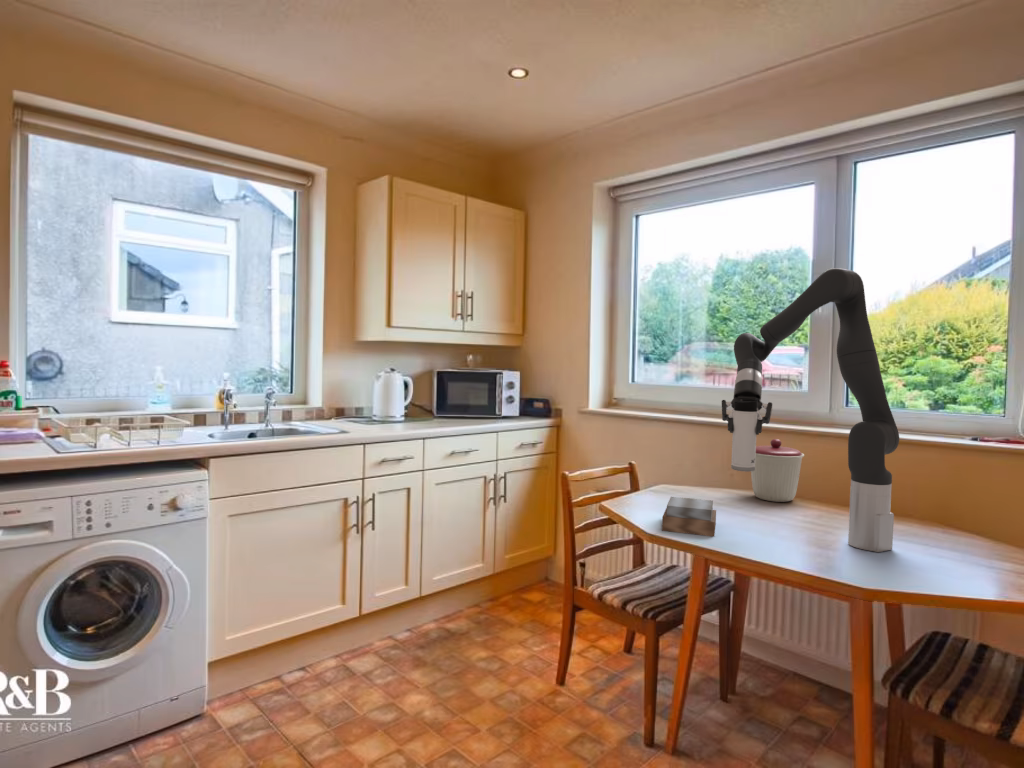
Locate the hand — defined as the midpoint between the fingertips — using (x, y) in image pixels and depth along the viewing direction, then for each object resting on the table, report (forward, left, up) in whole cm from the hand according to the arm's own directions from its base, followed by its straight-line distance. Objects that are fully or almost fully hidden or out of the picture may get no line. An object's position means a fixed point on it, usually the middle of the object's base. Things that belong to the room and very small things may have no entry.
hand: (744, 431), depth 169 cm
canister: (+25, -44, -29) cm, 58 cm away
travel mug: (+1, -1, -11) cm, 11 cm away
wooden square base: (+10, +9, -29) cm, 32 cm away
